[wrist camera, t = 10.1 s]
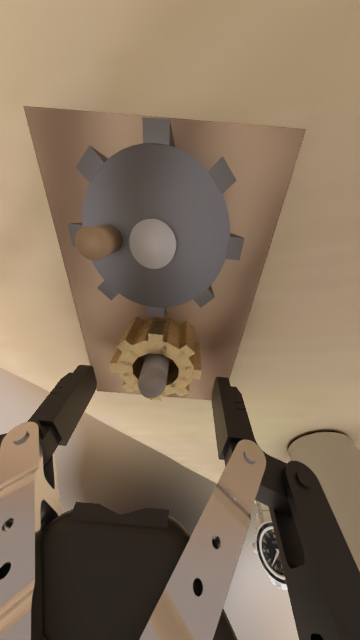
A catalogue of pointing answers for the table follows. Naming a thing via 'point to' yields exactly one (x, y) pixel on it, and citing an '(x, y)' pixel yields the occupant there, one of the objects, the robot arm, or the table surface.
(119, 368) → the brass gear
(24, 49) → the table surface
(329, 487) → the travel mug
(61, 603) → the robot arm
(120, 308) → the gear board
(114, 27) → the table surface
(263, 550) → the watch
